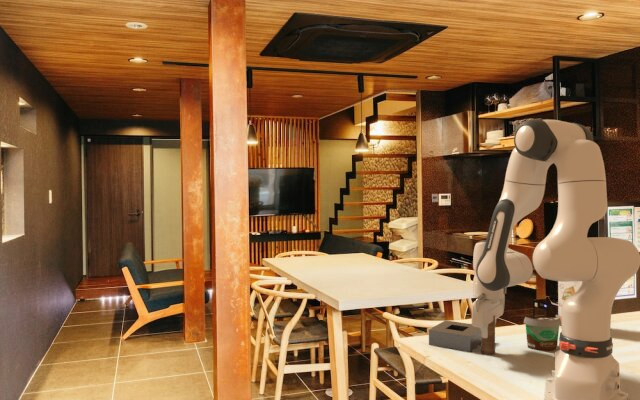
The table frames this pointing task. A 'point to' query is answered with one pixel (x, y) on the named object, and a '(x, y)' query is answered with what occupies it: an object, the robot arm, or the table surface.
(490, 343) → the walnut peg
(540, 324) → the food container
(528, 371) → the table surface
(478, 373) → the table surface
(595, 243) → the robot arm
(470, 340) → the socket block
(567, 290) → the cracker box
